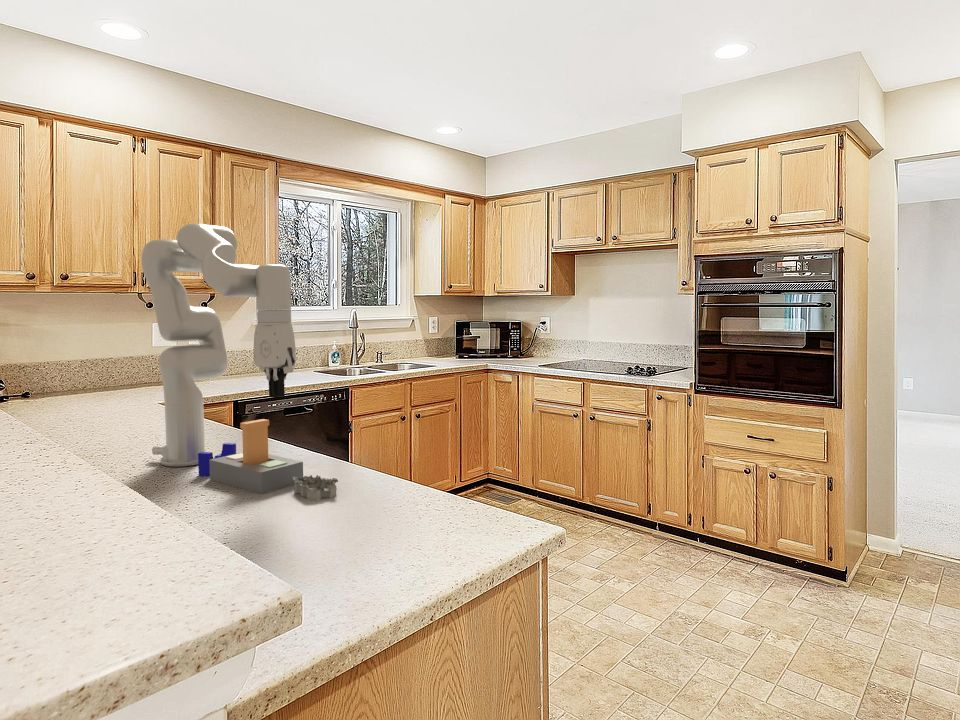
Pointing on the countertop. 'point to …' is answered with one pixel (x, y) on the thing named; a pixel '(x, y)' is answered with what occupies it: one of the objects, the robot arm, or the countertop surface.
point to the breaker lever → (255, 441)
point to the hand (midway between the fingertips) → (276, 396)
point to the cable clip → (206, 456)
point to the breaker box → (255, 472)
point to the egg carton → (315, 487)
